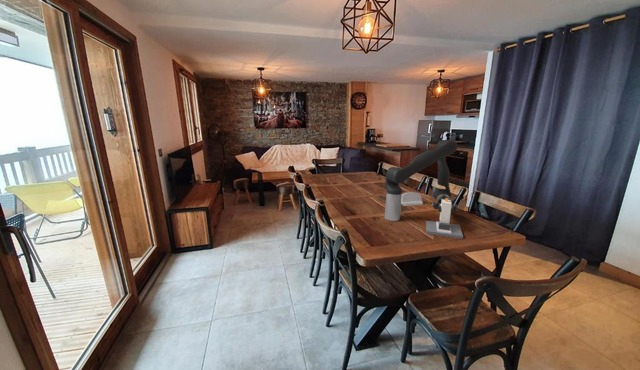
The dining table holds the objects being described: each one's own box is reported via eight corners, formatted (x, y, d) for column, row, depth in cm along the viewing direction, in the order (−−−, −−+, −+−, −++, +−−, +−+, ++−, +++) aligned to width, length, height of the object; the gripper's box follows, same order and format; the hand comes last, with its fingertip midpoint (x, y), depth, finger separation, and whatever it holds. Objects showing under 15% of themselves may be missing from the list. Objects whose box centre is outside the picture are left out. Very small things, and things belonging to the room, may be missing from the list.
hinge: (402, 205, 184) (401, 192, 184) (399, 206, 188) (398, 192, 189) (423, 204, 186) (422, 191, 187) (420, 204, 191) (418, 191, 192)
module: (440, 222, 141) (442, 199, 138) (439, 218, 146) (441, 196, 143) (449, 223, 139) (451, 200, 136) (448, 219, 145) (450, 197, 141)
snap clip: (438, 228, 139) (439, 223, 138) (438, 227, 141) (438, 222, 140) (449, 230, 137) (450, 225, 136) (449, 228, 139) (450, 223, 138)
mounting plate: (426, 233, 139) (426, 229, 138) (426, 222, 153) (426, 219, 153) (462, 238, 132) (463, 235, 132) (459, 227, 147) (459, 223, 146)
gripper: (431, 194, 156) (432, 203, 140) (457, 196, 150) (461, 206, 135) (430, 206, 157) (431, 215, 142) (456, 208, 152) (459, 218, 137)
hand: (446, 210), depth 139 cm, fingers closed on module, 4 cm apart
